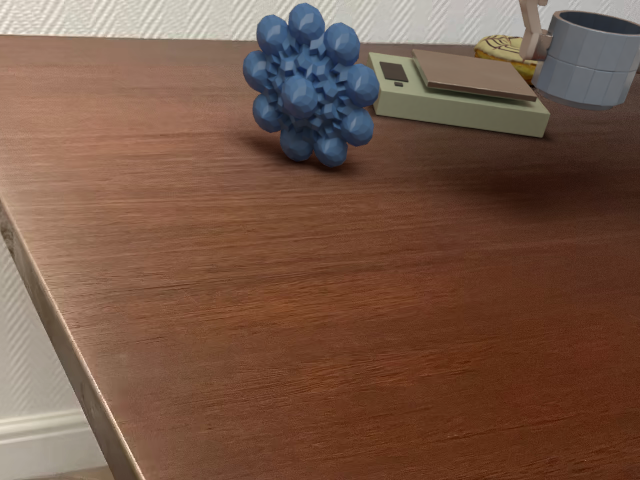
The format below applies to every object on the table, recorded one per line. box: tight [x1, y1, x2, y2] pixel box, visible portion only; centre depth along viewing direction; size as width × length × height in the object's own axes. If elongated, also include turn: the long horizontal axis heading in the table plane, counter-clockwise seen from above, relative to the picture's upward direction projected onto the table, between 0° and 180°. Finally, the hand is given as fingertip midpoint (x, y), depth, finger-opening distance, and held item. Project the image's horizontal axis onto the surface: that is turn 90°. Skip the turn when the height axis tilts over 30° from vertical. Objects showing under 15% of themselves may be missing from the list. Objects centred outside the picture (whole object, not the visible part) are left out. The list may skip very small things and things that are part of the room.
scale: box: [365, 51, 551, 138], centre depth 86 cm, size 17×14×3 cm
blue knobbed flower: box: [242, 2, 380, 168], centre depth 64 cm, size 12×7×12 cm, turn 67°
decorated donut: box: [473, 34, 538, 86], centre depth 98 cm, size 10×11×4 cm
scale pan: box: [410, 48, 538, 102], centre depth 84 cm, size 11×12×1 cm
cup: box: [531, 9, 640, 112], centre depth 56 cm, size 6×6×5 cm
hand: (585, 65), depth 56 cm, fingers closed on cup, 6 cm apart
